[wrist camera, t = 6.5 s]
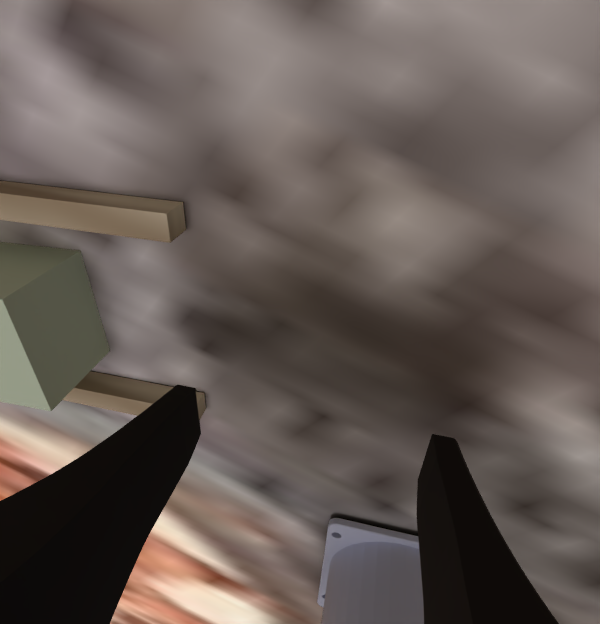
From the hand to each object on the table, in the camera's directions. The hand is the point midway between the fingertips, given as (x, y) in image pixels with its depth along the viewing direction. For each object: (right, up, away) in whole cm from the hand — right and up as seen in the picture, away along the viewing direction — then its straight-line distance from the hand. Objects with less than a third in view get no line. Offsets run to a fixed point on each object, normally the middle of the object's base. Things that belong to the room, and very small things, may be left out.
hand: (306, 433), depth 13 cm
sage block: (-11, +4, +6) cm, 13 cm away
